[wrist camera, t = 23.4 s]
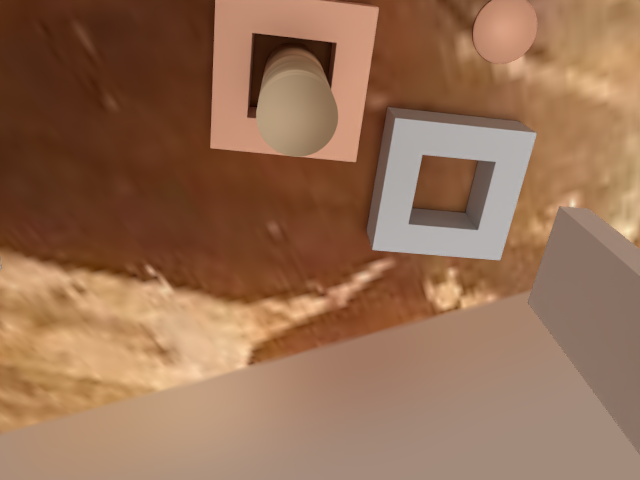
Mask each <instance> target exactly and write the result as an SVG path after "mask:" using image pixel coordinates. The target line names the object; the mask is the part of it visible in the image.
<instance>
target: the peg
mask: <svg viewBox="0 0 640 480" xmlns="http://www.w3.org/2000/svg"><path fill="white" fill-rule="evenodd" d="M256 121H257V126H258V129H259V132H260V134H261V136H262V138H263V139H264V141H265V142H266V143H267V144H268V145H269V146H270V147H271V148H272V149H274V150H276V151H277V152H279V153H281V154H284V155H287V156H293V157H302V156H308V155H311V154H313V153H316V152H317V151H319V150H321V149H322V148H323V147H324V146H326V145H327V144H328V142H329V141H330V140H331V138H332V137H333V135H334V133H335V131H336V128H337V124H338V109H337V105H336V101H335V99H334V96H333V94H332V91H331V89H330V86H329V84H328V81H327V79H326V76H325V74H324V71H323V68H322V66H321V63H320V61H319V59H318V57H317V55H316V54H315V53H314V51H313V50H312V49H310V48H309V47H307V46H306V45H304V44H301V43H296V42H289V43H285V44H282V45H280V46H278V47H277V48H275V49H274V50H273V51H272V52H271V54H270V55H269V57H268V59H267V61H266V64H265V69H264V74H263V79H262V84H261V90H260V95H259V100H258V105H257V110H256Z"/></svg>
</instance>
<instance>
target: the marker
mask: <svg viewBox="0 0 640 480" xmlns="http://www.w3.org/2000/svg"><path fill="white" fill-rule="evenodd" d="M536 32H537V16H536V13H535V11H534V9H533V7H532V6H531V4H530V3H529V2H528V1H526V0H491V1H490V2H488V3H487V4H486V5H485V6H484V7H483V8H482V9H481V11H480V12H479V13H478V15H477V17H476V19H475V22H474V26H473V34H472V36H473V42H474V46H475V48H476V50H477V52H478V53H479V54H480V55H481V56H482V57H483V58H484V59H486V60H488V61H490V62H493V63H497V64H503V63H509V62H512V61H514V60H516V59H518V58H519V57H521V56H522V55H523V54H525V52H526V51H527V50H528V49H529V48H530V46H531V45H532V43H533V41H534V39H535V36H536Z"/></svg>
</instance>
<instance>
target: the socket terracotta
mask: <svg viewBox="0 0 640 480" xmlns="http://www.w3.org/2000/svg"><path fill="white" fill-rule="evenodd" d="M378 12H379V7H376V6H374V5H371V4H363V3H355V2H347V1H339V0H215V26H214V56H213V86H212V116H211V146H210V148H214V149H224V150H235V151H245V152H255V153H266V154H276V155H284V154H281V153H279V152H277V151H276V150H274V149H272V148H271V147H270V146H269V145H268V144H267V143H266V142H265V141H264V139H263V138H262V136H261V134H260V132H259V129H258V126H257V121H256V110H257V107H250V99H251V83H252V67H253V51H254V35H255V33H258V34H267V35H275V36H284V37H292V38H301V39H309V40H318V41H326V42H332V49H331V58H330V66H329V74H328V84H329V86H330V89H331V91H332V94H333V96H334V99H335V101H336V105H337V109H338V124H337V128H336V131H335V133H334V135H333V137H332V138H331V140H330V141H329V142H328V144H327V145H326V146H324V147H323V148H322V149H321V150H319V151H317V152H316V153H313V154H311V155H308V156H302V157H307V158H318V159H328V160H338V161H349V162H356V158H357V151H358V145H359V138H360V131H361V125H362V118H363V111H364V105H365V98H366V91H367V85H368V78H369V71H370V65H371V58H372V51H373V45H374V38H375V31H376V25H377V18H378Z"/></svg>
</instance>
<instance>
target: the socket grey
mask: <svg viewBox="0 0 640 480" xmlns="http://www.w3.org/2000/svg"><path fill="white" fill-rule="evenodd" d="M536 134H537V133H536V132H535V131H533V130H532V129H530V128H529V127H527V126H526V125H524V124H523V123H521V122H520V121H513V120H504V119H495V118H485V117H476V116H467V115H457V114H448V113H439V112H429V111H420V110H410V109H401V108H392V107H387V112H386V118H385V124H384V130H383V136H382V142H381V148H380V154H379V160H378V166H377V172H376V178H375V184H374V190H373V196H372V202H371V208H370V214H369V220H368V226H367V234H368V238H369V241H370V244H371V247H372V250H379V251H392V252H404V253H416V254H429V255H441V256H454V257H466V258H478V259H491V260H500V259H501V256H502V252H503V249H504V245H505V242H506V238H507V235H508V231H509V228H510V225H511V221H512V218H513V214H514V211H515V207H516V204H517V200H518V197H519V193H520V190H521V186H522V183H523V179H524V176H525V173H526V169H527V166H528V162H529V159H530V155H531V152H532V148H533V145H534V141H535V138H536ZM422 155H431V156H441V157H451V158H461V159H471V160H478V163H477V167H476V171H475V176H474V180H473V184H472V188H471V192H470V196H469V200H468V204H467V208H466V212H465V213H462V212H451V211H440V210H428V209H417V208H412V204H413V199H414V194H415V189H416V184H417V179H418V174H419V169H420V164H421V159H422Z"/></svg>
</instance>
